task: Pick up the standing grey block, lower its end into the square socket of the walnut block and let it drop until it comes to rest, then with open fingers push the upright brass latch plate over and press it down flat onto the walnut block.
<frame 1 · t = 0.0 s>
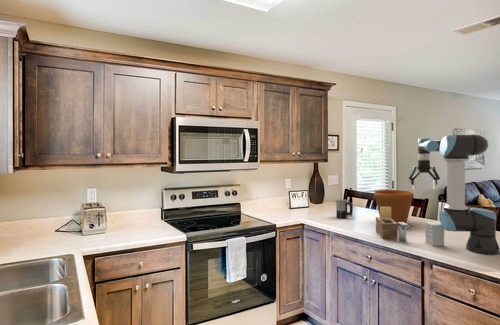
hand: (423, 189, 228), 28 cm above the countertop, fingers open, 13 cm apart
grey block: (402, 240, 199), on the countertop
flowerpot: (393, 222, 250), on the countertop
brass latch: (385, 213, 215), point 14 cm above the countertop, hinge at 0.0°
supplement box: (434, 244, 192), on the countertop
socket block: (387, 236, 210), on the countertop
milk frother: (344, 216, 274), on the countertop
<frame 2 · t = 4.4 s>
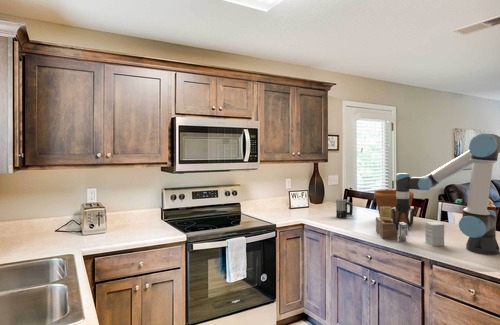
hand: (402, 235, 199), 4 cm above the countertop, fingers closed on grey block, 4 cm apart
grey block: (402, 240, 199), on the countertop, touching gripper
everything else where it was.
when the fingers open (11 cm above the countertop, at t = 8.3 s): grey block drops 7 cm, resting on socket block.
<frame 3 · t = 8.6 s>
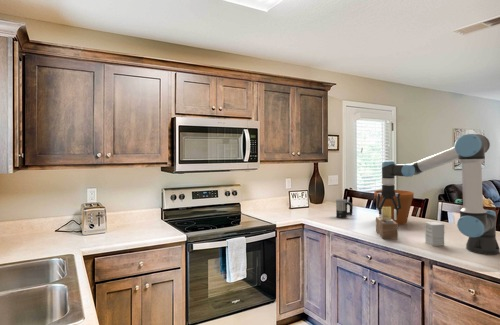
hand: (388, 219, 208), 12 cm above the countertop, fingers open, 8 cm apart
grey block: (388, 236, 208), resting on socket block
everything else where it was.
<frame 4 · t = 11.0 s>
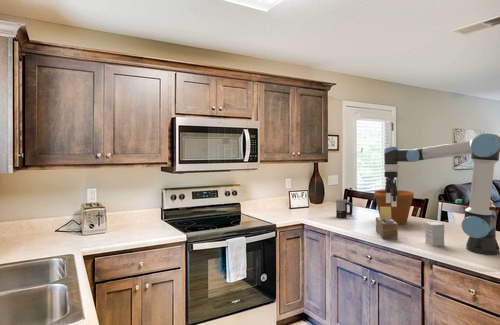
hand: (391, 204, 201), 22 cm above the countertop, fingers open, 13 cm apart
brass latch: (385, 213, 215), point 14 cm above the countertop, hinge at 3.4°
everything else where it was.
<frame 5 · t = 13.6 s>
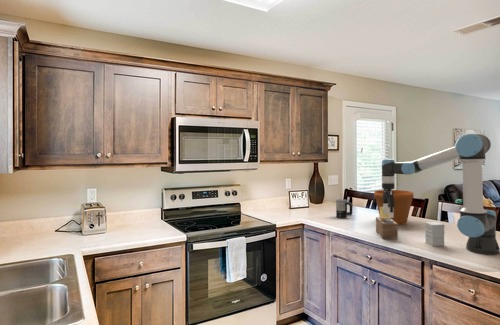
hand: (388, 215, 208), 14 cm above the countertop, fingers open, 13 cm apart
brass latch: (385, 213, 215), point 14 cm above the countertop, hinge at 11.9°, touching gripper
everything else where it was.
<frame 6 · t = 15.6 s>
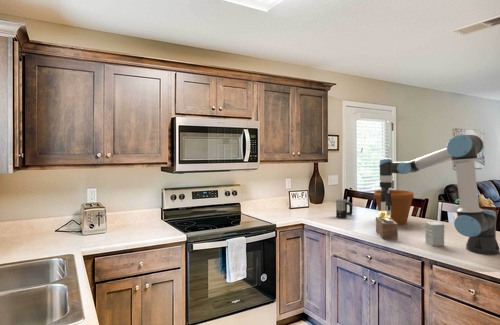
hand: (385, 213, 214), 14 cm above the countertop, fingers open, 13 cm apart
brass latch: (384, 215, 218), point 12 cm above the countertop, hinge at 63.8°
everything else where it was.
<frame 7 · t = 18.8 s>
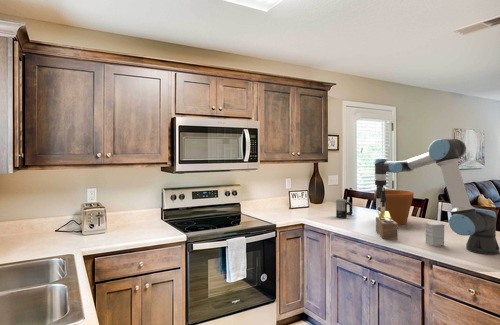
hand: (380, 209, 228), 14 cm above the countertop, fingers open, 13 cm apart
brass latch: (384, 215, 218), point 12 cm above the countertop, hinge at 64.9°, touching gripper
everything else where it was.
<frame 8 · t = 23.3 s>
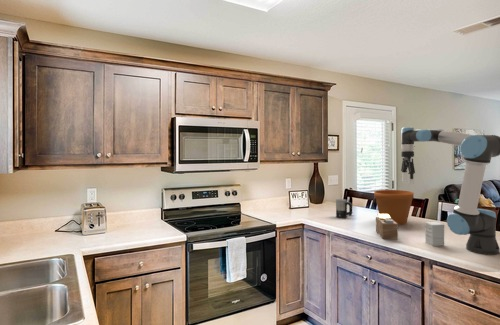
hand: (407, 183, 212), 35 cm above the countertop, fingers open, 13 cm apart
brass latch: (384, 216, 218), point 11 cm above the countertop, hinge at 80.4°
everything else where it was.
at the end: grey block 0.0 cm from the target spot on the socket block, point 0.5 cm above the socket block's base; grey block tilted 0°; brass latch at +80° (first picture: +0°) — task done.
